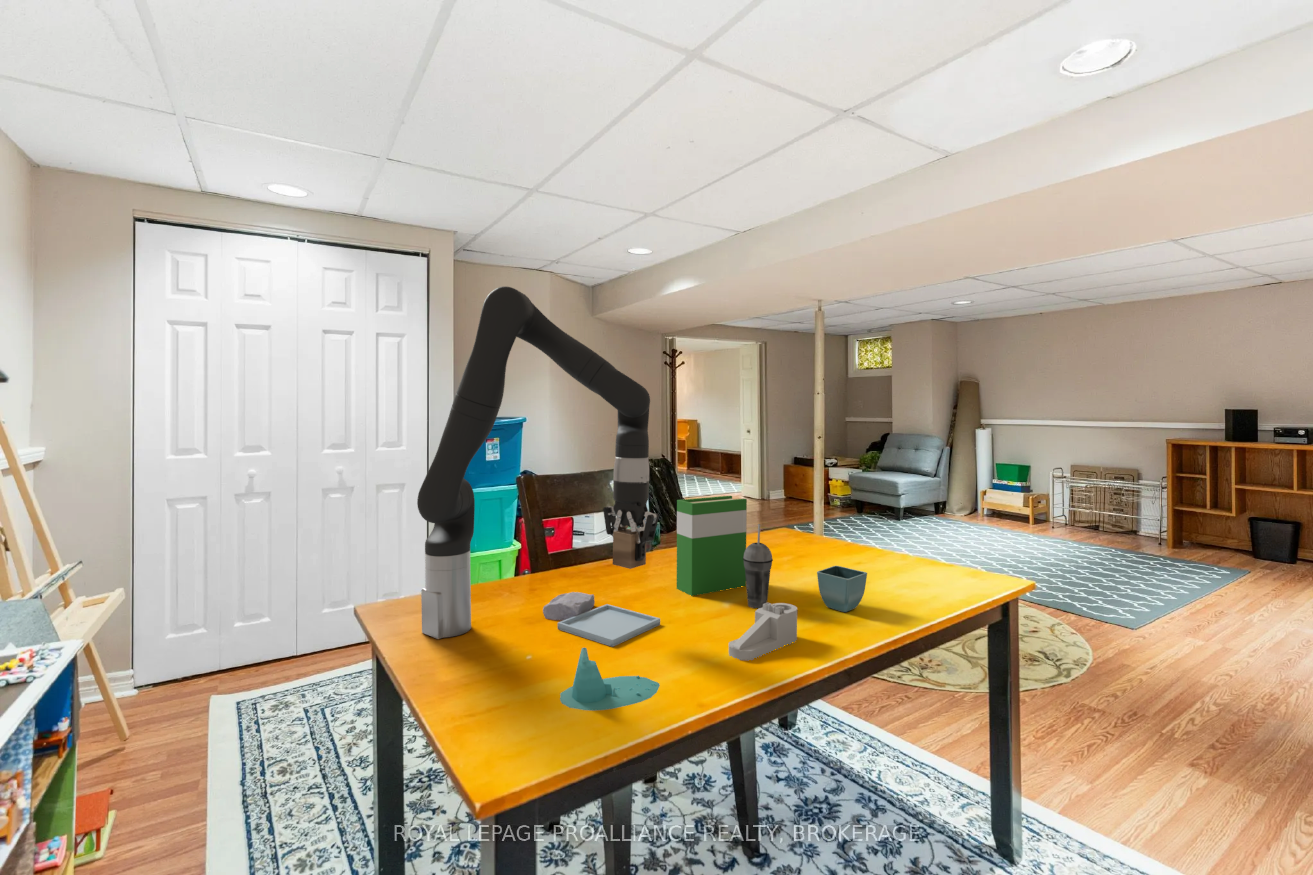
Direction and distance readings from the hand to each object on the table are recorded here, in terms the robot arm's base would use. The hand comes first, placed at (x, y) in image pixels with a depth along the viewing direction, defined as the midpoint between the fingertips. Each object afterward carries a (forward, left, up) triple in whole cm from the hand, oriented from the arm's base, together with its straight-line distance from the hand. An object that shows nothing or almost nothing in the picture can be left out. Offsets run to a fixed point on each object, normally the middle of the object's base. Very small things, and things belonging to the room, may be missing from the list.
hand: (629, 557), depth 126 cm
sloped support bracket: (+12, -26, -17) cm, 33 cm away
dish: (+1, +6, -16) cm, 18 cm away
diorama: (-22, -15, -17) cm, 31 cm away
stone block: (+2, +21, -17) cm, 27 cm away
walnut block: (0, 0, -1) cm, 1 cm away
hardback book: (+40, +4, -17) cm, 43 cm away
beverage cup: (+34, -13, -17) cm, 40 cm away
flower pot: (+45, -30, -17) cm, 56 cm away
